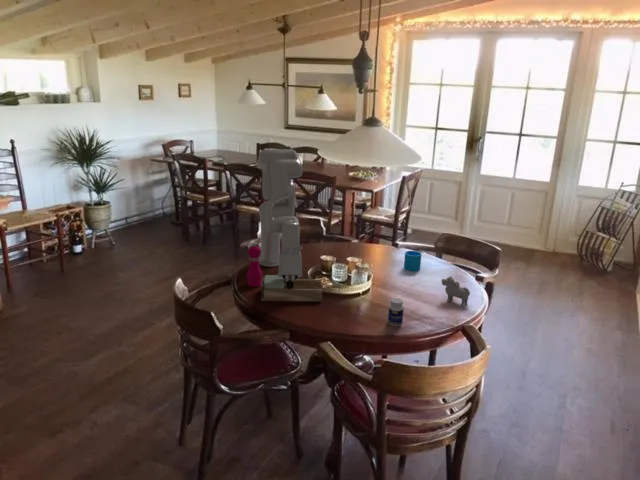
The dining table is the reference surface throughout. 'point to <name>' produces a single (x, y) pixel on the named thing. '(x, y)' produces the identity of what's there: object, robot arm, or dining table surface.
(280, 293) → the bay
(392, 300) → the pill bottle
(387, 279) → the dining table surface
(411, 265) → the mug
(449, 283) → the dog figurine
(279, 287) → the grey-green block
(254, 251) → the pepper mill
